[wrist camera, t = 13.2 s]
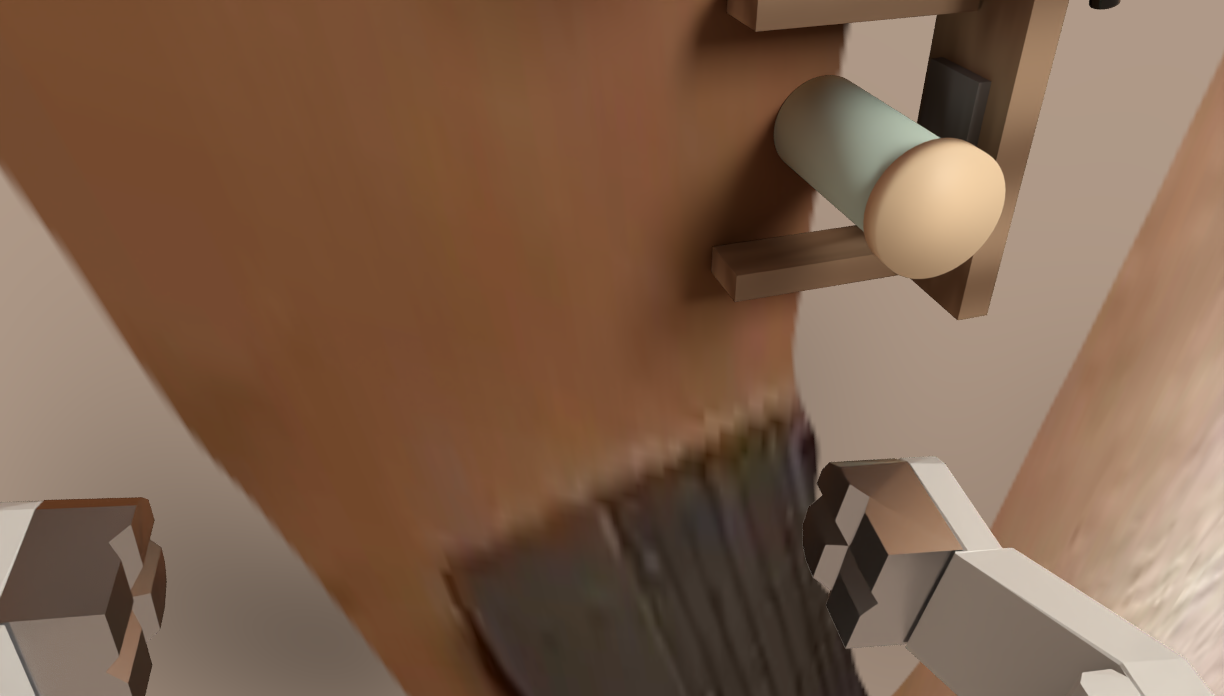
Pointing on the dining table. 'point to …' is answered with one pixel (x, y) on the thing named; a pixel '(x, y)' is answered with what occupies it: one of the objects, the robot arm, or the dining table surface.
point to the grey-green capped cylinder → (891, 176)
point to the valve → (1103, 4)
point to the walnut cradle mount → (950, 108)
